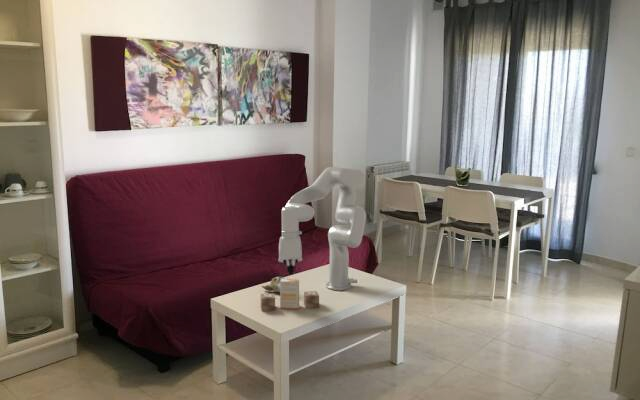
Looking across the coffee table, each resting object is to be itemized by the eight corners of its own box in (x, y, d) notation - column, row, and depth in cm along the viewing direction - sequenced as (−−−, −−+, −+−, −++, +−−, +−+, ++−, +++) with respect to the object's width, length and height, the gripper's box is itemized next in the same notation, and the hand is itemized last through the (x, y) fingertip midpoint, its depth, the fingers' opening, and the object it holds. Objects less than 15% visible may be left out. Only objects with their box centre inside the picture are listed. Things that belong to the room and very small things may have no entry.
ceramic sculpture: (281, 280, 257) (260, 275, 267) (281, 298, 258) (261, 292, 269) (297, 275, 265) (276, 270, 275) (297, 292, 266) (276, 287, 276)
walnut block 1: (273, 305, 249) (273, 292, 248) (275, 310, 244) (275, 297, 242) (260, 306, 248) (260, 293, 247) (261, 311, 242) (261, 298, 241)
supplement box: (299, 305, 250) (299, 278, 247) (297, 309, 245) (298, 281, 243) (281, 304, 250) (281, 277, 248) (279, 308, 246) (279, 280, 243)
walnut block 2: (316, 303, 253) (316, 290, 252) (319, 308, 247) (319, 295, 246) (303, 304, 252) (304, 291, 251) (305, 308, 246) (306, 295, 245)
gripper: (305, 231, 247) (305, 270, 250) (272, 232, 244) (273, 272, 248) (308, 235, 239) (308, 275, 243) (274, 237, 237) (274, 277, 240)
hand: (290, 273), depth 245 cm, fingers closed
